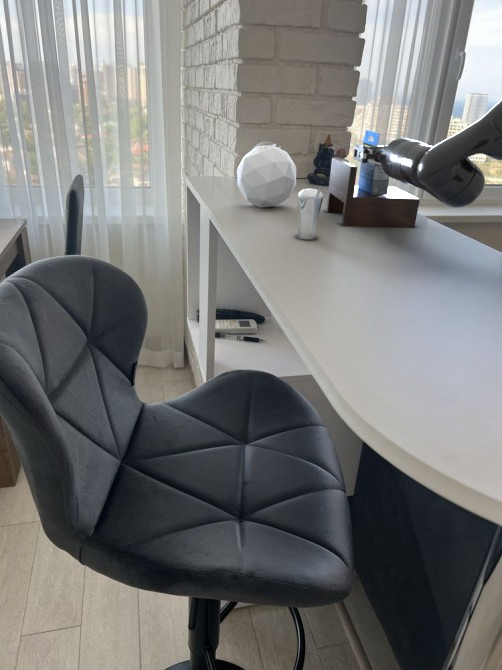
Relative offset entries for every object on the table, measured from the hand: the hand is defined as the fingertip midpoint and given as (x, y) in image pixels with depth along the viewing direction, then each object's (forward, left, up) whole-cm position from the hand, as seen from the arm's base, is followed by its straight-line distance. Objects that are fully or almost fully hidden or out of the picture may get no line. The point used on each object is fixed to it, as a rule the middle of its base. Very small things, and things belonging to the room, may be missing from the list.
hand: (378, 150), depth 108 cm
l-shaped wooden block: (0, 0, -15) cm, 15 cm away
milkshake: (+18, +17, -15) cm, 29 cm away
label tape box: (0, 0, -9) cm, 9 cm away
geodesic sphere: (+22, -11, -15) cm, 29 cm away
